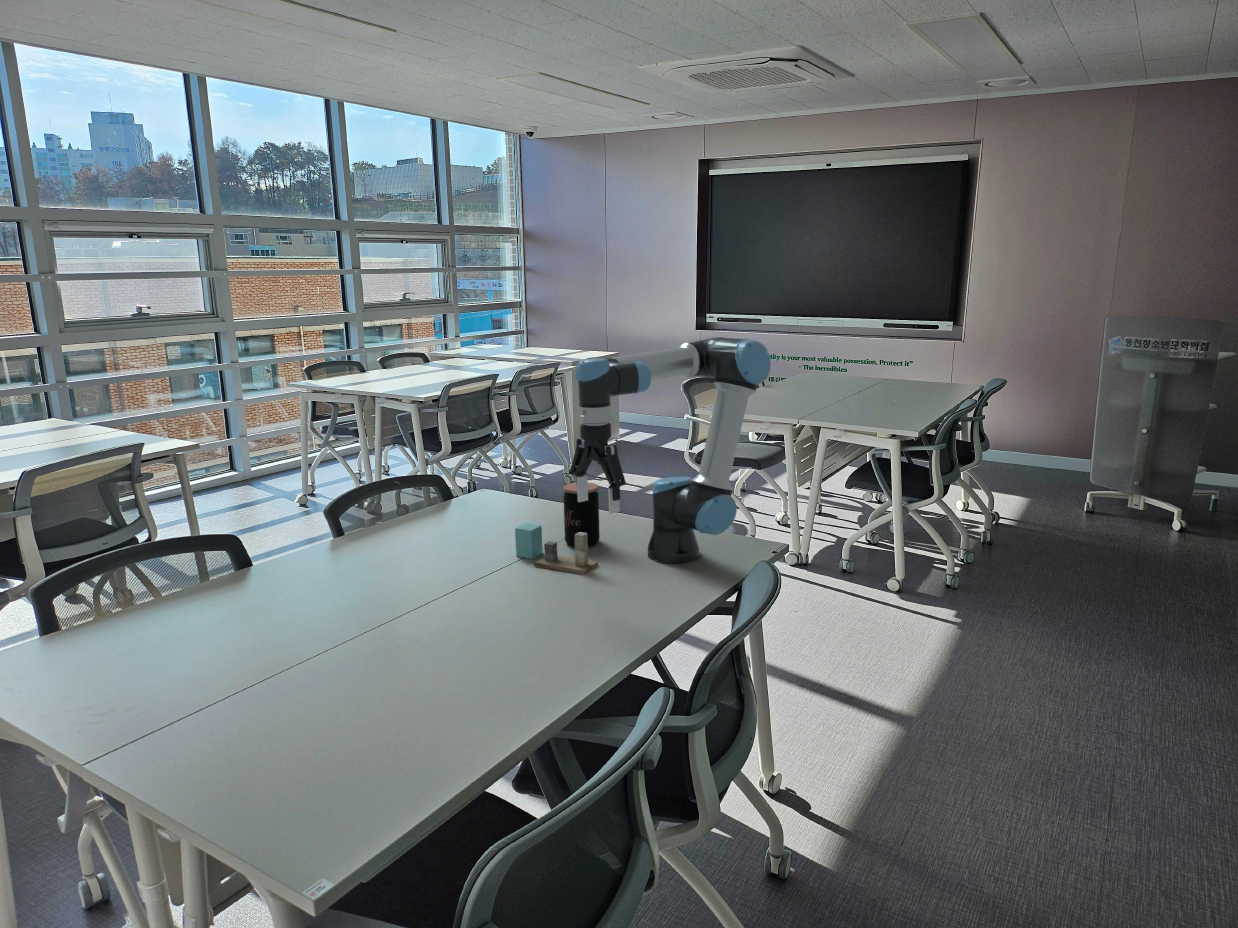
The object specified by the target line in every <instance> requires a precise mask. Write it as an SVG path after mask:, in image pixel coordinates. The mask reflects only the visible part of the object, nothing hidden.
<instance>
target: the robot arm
mask: <svg viewBox="0 0 1238 928" xmlns="http://www.w3.org/2000/svg"><path fill="white" fill-rule="evenodd" d="M771 363H772V362H771V356H770V353H769V352H768V349H767V347H766V346H765V345H764V344H763V343H762V342H760V341H758V340H754V339H749V338H732V337H711V338H706V339H700V340H696V341H691V342H685V343H682V344H681V345H679V347H676V348H669V349H668V348H667V349H663V350H661V349H660V350H655V351H647V352H642V353H634V354H627V355H622V356H615V357H609V358H608V357H607V358H600V357H596V358H594V357H593V358H591V357H590V358H584V359H581V360H579V362H578V365H577V366H576V368H575V378H576V381H577V383H578V385H577V387H578V401H579V402H578V403H579V405H578V406H579V421H580V423H581V424H580V425H579V430H580V431H579V432H580V435H579V436H580V438H577V439H576V444H575V445H576V446H575V450H574V455H573V458H572V463H571V465H570V472H571V473H574V476H575V477H576V482H577V496H578V502H583V501H587V500H588V483H587V482H588V473H587V471H588V469H589V467H590V465H591V464H592V462H593V461H594V462H597V464H598V465H600V468H602V471H603V473H604V476H605V477H606V480H607V482H608V484H609V486H608V487H607V490H608V491H607V492H608V493H607V494H608V513H609V514H610V515H612V514H616V513H619V512H621V510H620V509H621V506H620V504H621V502H620V500H621V487H622V486H626V484H627V482H626V479H625V475H624V472H623V468H622V466H621V462H620V458H619V456H618V448H617V446H616V445H615V444H614V445H609V439H611V437H612V425H611V423H610V422H611V420H612V416H611V415H612V413H611V411H612V410H611V397H617V396H623V395H633V394H638V393H642V392H645V391H647V390H648V389H649V388H650V386H651V383H652V381H653V380H654V381H655V380H659V379H665V378H672V377H676V376H677V377H678V376H684V377H686V378H693V377H702V378H703V377H704V378H709V379H710V378H711V379H714V382H713V384H714V385H715V388H716V389H717V394H716V398H715V402H714V406H713V411H712V415H711V419H710V423H709V427H708V432H707V435H706V440H705V444H704V449H703V453H702V457H701V461H700V467H699V471H698V474H697V476H695V477H693V478H692V477H691V476H672V477H664V478H659V479H657V480H656V481H654V483H653V485H652V486H653V487H652V522H653V525H652V527H653V528H652V529H653V530H652V531H651V532H652V533H651V535H650V539H649V542H648V545H647V556H648V558H649V559H651V560H653V561H656V562H660V563H666V564H667V563H668V564H681V563H682V564H683V563H687V562H688V563H689V562H692V561H695V560H696V559H698V558H699V556H700V545H699V543H698V540H697V537H696V534H695V531H697V532H700V533H701V534H707V535H711V536H716V535H717V536H718V535H721V534H723V533H724V532H725V531H726V530H728V529H729V528H730V527H732V524H733V523H734V521H735V519H736V516H737V511H738V507H737V505H736V500H735V499H734V498H733V497H732V493H733V490H734V489H733V486H731V484H730V477H731V474H732V469H733V465H734V461H735V457H736V453H737V448H738V444H739V440H740V435H741V431H742V427H743V423H744V418H745V414H746V410H747V406H748V401H749V398H750V397H751V396H752V395H754V394H755V393H757V389H758V385H760V384H762V383H764V382H765V380H766V379H768V377H769V374H770V373H771V367H772V365H771Z"/></svg>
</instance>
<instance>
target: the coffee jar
mask: <svg viewBox="0 0 1238 928" xmlns="http://www.w3.org/2000/svg"><path fill="white" fill-rule="evenodd" d="M587 483H588V500H587V501H583V502H578V496H577V481H576V482H571V483H567V484H565V485H563V487H562V488H563V489H562V490H563V492H564V493H563V495H562V496H563V518H564V519H563V520H564V523H563V524H564V541H565V542H566V544H567V545H568V546H570V547H571V548H575V534H577V533H578V532H582V533H587V544H588V548H591V547H594V546H596V545H597V544H598V543H599V541H600V537H601V536H600V507H599V506H600V503H599V502H600V501H599V498H600V497H599V492H598V490H599V485H598V484H597V483H594V482H590V481H589V482H588V481H587Z"/></svg>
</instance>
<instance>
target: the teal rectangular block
mask: <svg viewBox="0 0 1238 928" xmlns="http://www.w3.org/2000/svg"><path fill="white" fill-rule="evenodd" d="M542 527H543V526H542V525H541V524H535V523H533V524H532V523H525V522H524V523H523V524H520V525H519V526H517V527H514V534H515V537H514V538H515V556H516V557H519V558H524V559H533V560H534V559H535V558H536V557H538V556H540V555H541V554H543V530H542V529H543V528H542Z"/></svg>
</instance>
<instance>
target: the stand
mask: <svg viewBox="0 0 1238 928" xmlns="http://www.w3.org/2000/svg"><path fill="white" fill-rule="evenodd" d="M543 548H544V557H542V558H540V559H539V560H537V561H534V567H536V568H542V569H548V570H552V571H553V570H554V571H560V572H566V573H571V574H576V575H577V574H579V575H586V574H588V573H589V572H590V571H592V570H594V569H595V568H596V567H598V566H599V561H597V560H590V559H588V558H589V552H588V551H589V549H588V548H589V547H588V544H587V533H582V532H578V533H577V534H575V547H574V557H571V556H566V555H565V556H564V555H559V554H558V542H557V541H552V540H551V541H550V540H549V541H547V542H544V547H543Z"/></svg>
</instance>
